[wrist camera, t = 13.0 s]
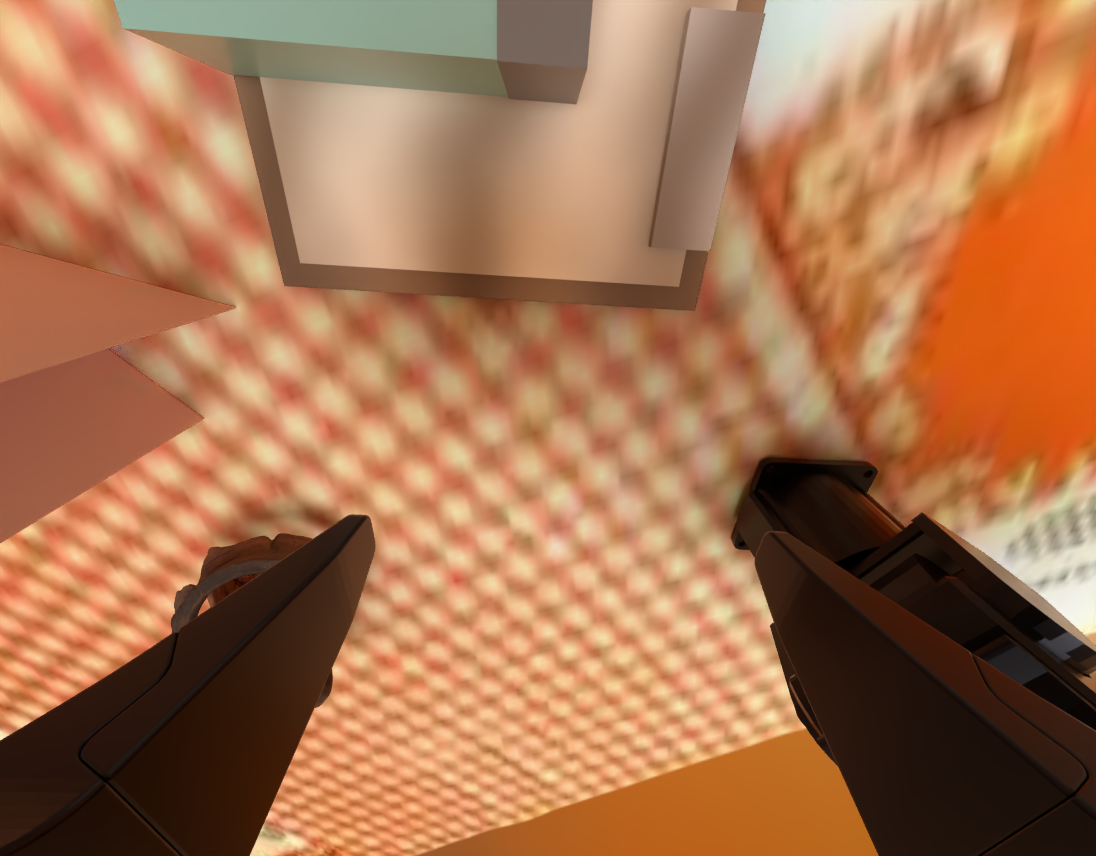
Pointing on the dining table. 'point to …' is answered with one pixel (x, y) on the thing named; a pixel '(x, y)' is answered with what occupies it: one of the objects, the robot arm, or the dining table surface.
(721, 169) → the clipboard
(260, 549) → the pottery mug
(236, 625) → the robot arm
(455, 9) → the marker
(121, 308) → the greeting card
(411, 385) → the dining table surface
